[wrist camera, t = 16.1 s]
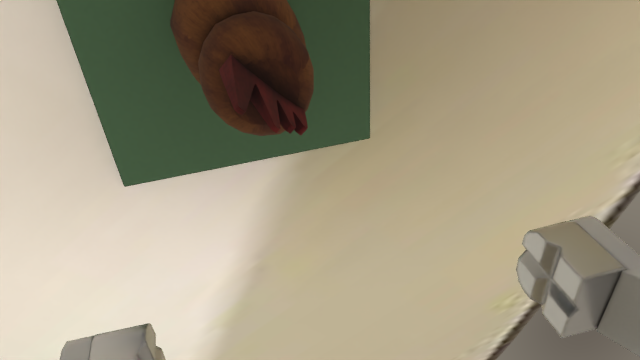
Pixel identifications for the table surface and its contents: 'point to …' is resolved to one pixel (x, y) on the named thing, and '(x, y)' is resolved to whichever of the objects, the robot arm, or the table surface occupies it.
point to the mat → (187, 95)
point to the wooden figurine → (247, 61)
